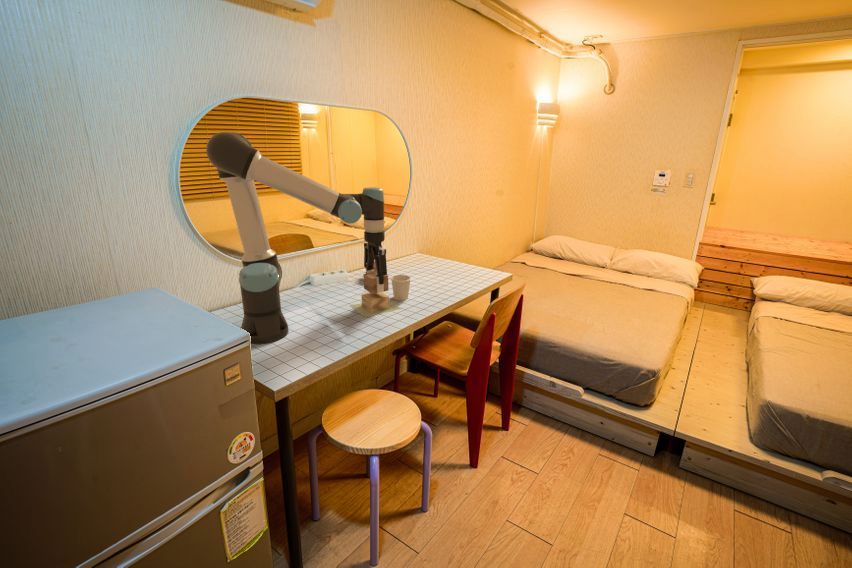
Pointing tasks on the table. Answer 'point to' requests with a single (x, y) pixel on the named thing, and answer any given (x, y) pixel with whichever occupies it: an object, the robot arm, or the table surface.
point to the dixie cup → (400, 286)
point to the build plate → (365, 312)
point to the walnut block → (373, 282)
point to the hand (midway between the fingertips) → (375, 288)
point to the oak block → (375, 301)
